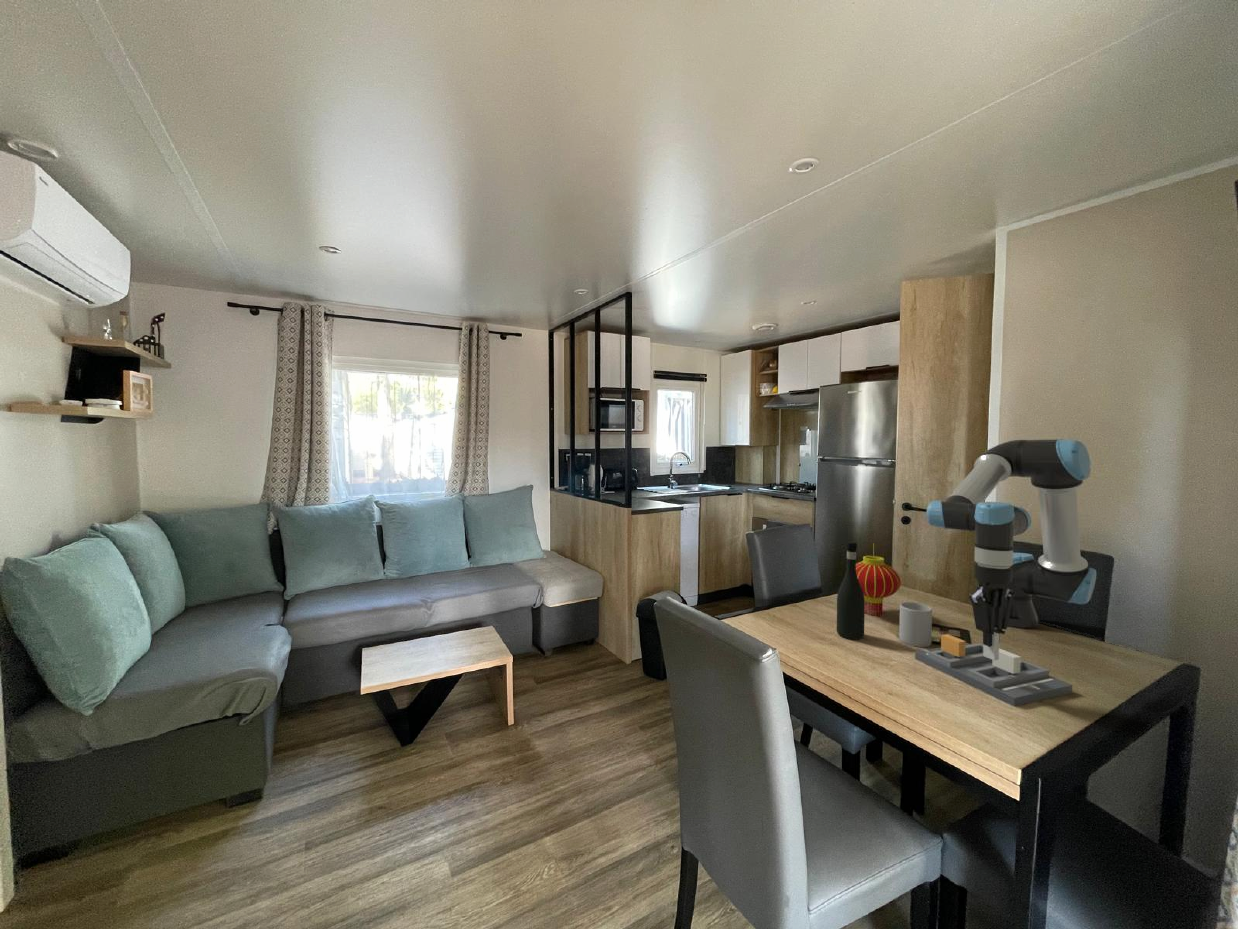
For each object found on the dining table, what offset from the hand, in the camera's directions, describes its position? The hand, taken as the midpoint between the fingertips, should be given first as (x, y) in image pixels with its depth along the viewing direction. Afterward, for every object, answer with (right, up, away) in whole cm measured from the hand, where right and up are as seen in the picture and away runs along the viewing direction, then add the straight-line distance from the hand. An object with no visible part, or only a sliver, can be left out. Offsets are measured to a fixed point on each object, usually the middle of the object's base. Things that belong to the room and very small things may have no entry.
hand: (990, 657), depth 120 cm
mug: (0, -7, +29) cm, 30 cm away
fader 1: (-2, -5, +11) cm, 12 cm away
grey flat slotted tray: (+4, -7, +7) cm, 11 cm away
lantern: (-2, -6, +53) cm, 53 cm away
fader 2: (+5, -5, +2) cm, 8 cm away
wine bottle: (-19, -6, +33) cm, 39 cm away
